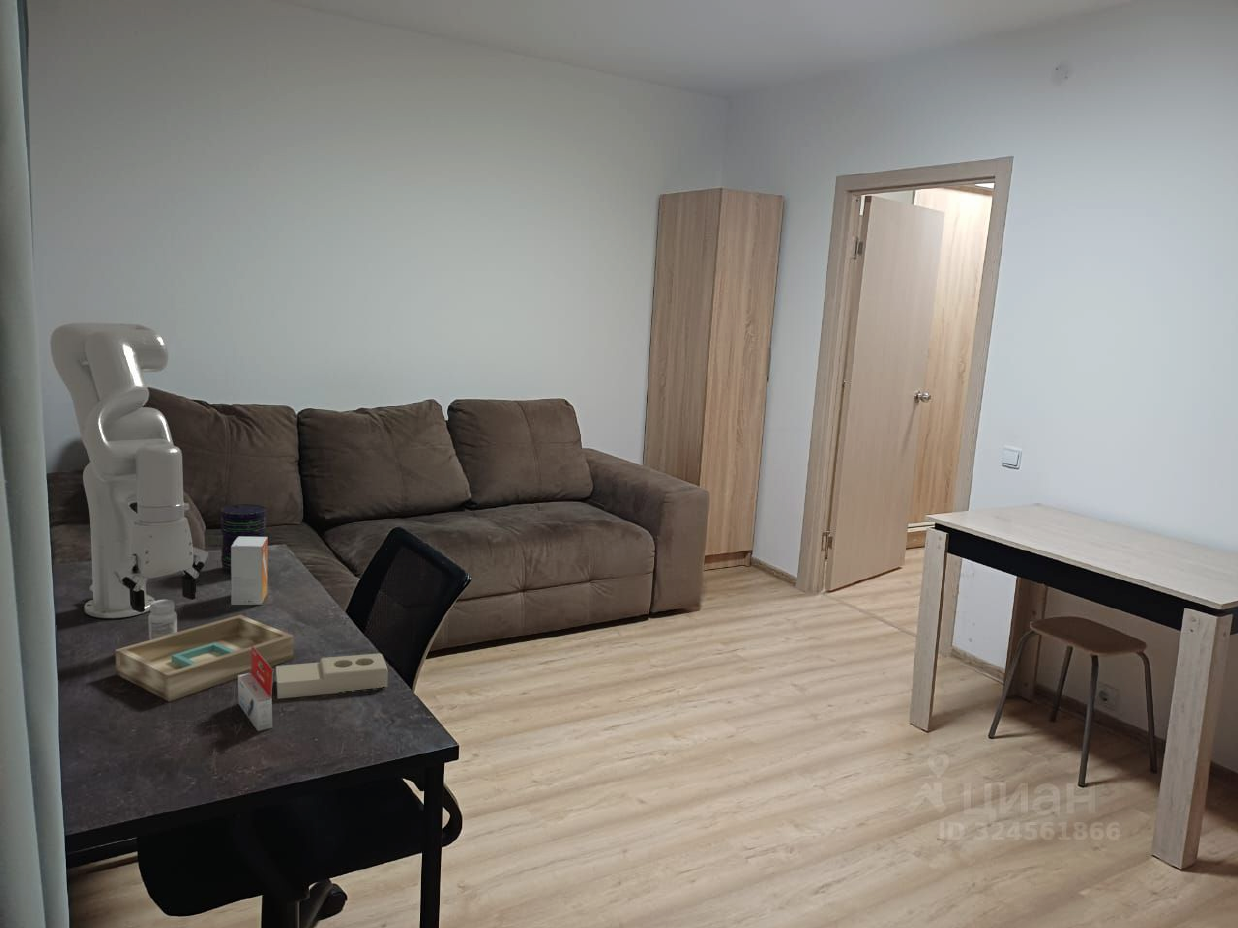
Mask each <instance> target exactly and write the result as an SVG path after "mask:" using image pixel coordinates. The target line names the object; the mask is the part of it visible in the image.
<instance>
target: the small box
mask: <svg viewBox="0 0 1238 928" xmlns="http://www.w3.org/2000/svg"><path fill="white" fill-rule="evenodd" d="M268 538H269V537H268V536H265V537H241V536H239V537H238V538H237V539H236V540H235V541H234V543H233V545H232V546H231V576H230V578H231V593H230V594H231V595H230V597H231V600H230V601H231V603H230V604H231V606H261V605H263V603H264V600H265V598H266V597H267V595H268V550H269V549H268V547H269V545H268V543H269V542H268V541H269V539H268Z"/></svg>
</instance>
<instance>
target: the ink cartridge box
mask: <svg viewBox="0 0 1238 928" xmlns="http://www.w3.org/2000/svg"><path fill="white" fill-rule="evenodd" d="M260 661H262V664H263V667H264V669H263V670H262V669H261V667H260V666H259V662H260ZM273 678H274V669H273V668H272V667H270V666H269V664H268V663H267V662H266V661H265V660H264V659H263V657H262V656H261V655H260V654H259V653H258V652H257V651H256V650H255V648H254V647H253V646H252V653H251V673H247V674H242V675H238V678H237V694H238V696H237V697H238V698H237V699H238V705H239V706H240V707H241V709H242V711H243V712H244V714H245V715H246V716H247V718H248V719H249V721H250V722H251V723H252V725H253V726H254V728H255V729H256V730H257V731H258V732H260V731H264V730H268V729H271V728H273V705H272V704H273V703H272V693H273V692H272V691H273V690H272V688H273V682H274V681H273Z"/></svg>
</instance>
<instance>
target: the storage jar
mask: <svg viewBox="0 0 1238 928" xmlns="http://www.w3.org/2000/svg"><path fill="white" fill-rule="evenodd" d="M266 512H267V510H266V507H265V506H263V505H259V504H251V503H249V504H248V503H247V504H246V503H245V504H244V503H243V504H242V503H241V504H231V505H227V506H224V507H222V508H221V511H220V513H221V515H220V516H221V518H220V526H221V529H220V531H221V533H222V548H221V555H220V557H221V558H220V559H221V560H220V562H221V566H222V568H221V573H222V574H223V575H226V576H229V577H231V546H232V545H233V543H234V541H235V540H236V539H237V538H238V537H239V536H241V537H266V534H265V533H266V531H267V527H266V525H267V518H266Z"/></svg>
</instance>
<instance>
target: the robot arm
mask: <svg viewBox="0 0 1238 928" xmlns="http://www.w3.org/2000/svg"><path fill="white" fill-rule="evenodd" d="M50 336H51V337H50V342H49V343H50V353H51V357H52V361H53V364H54V367H55V370H56V372H57V374H58V375H59V378H60V379H61V380H62V382H63V384H64V386H65V388H66V389H67V391H68V393H69V394H70V396H71V399H72V403H73V408H74V413H75V416H76V420H77V425H78V429H79V432H80V437H81V439H82V443H83V446H84V448H85V449H86V452H87V453H86V454H87V455H88V459H89V463H88V464H87V465H86V466H85V468H84V470H83V474H82V480H83V487H84V491H85V494H86V501H87V504H88V505H87V506H88V511H89V512H88V513H89V523H90V524H89V525H90V551H91V576H92V584H91V585H90V586H89V590H90V591H91V592H92V598H93V599H91V600H88V601H87V602H86V603H85V605H84V612H85V614H87V615H88V616H91V617H94V618H100V619H119V618H127V617H134V616H138V615H141V614H144V613H146V612H149V611H150V604H151V603H152V602H154V601H156V600H155V598H154V597H152V596H151V595H148V594H147V580H148V579H154V578H160V577H163V576H169V575H174V574H177V573H182V574H183V575H182V577H181V587H182V588H181V593H182V595H181V596H182V597H183V598H186V599H188V600H191V601H193V600H195V599H196V593H197V578H199V576H200V572H201V571H202V570H203V568H204V567H205V563H206V561H207V559H208V556H209V552H208V551H205V550H203V549H199V548H197V547H194V546H193V538H192V533H191V528H190V525H189V520H188V518H187V517H185V512H186V511H189V510H190V507H191V506H190V503H189V502H186V503H185V501H184V483H183V481H184V479H183V475H184V474H183V454H182V450H181V449H180V448H179V447H178V446H175V445H174V441H173V437H172V434H171V430H170V427H169V423H168V421H167V419H166V416H164V414H163V413H162V412H161V411H160V410H158V409H157V408H153V407H146V406H145V405H146V404H147V402H148V400H149V397H150V391H149V388H148V385H147V382H146V380H145V377H144V374H143V373H158V372H162V371H163V370H165V369H166V367H167V365H168V363H169V350H168V345H167V343H166V341H165V339H164V337H163V336H162V335H161V333H160V332H158V331H157V330H155V329H152V328H149V327H148V326H145V325H141V324H136V323H109V322H106V323H105V322H104V323H103V322H73V323H66V324H62V325H60V326H58V327H56V328H55V329H54V330H53V331H52V333H51V335H50ZM144 406H145V407H144ZM133 503H136V504H137V506H136V507H137V512H136V511H134V509H132V507H131V506H130V505H131V504H133ZM194 556H195V557H196V559H195V561H194Z"/></svg>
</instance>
